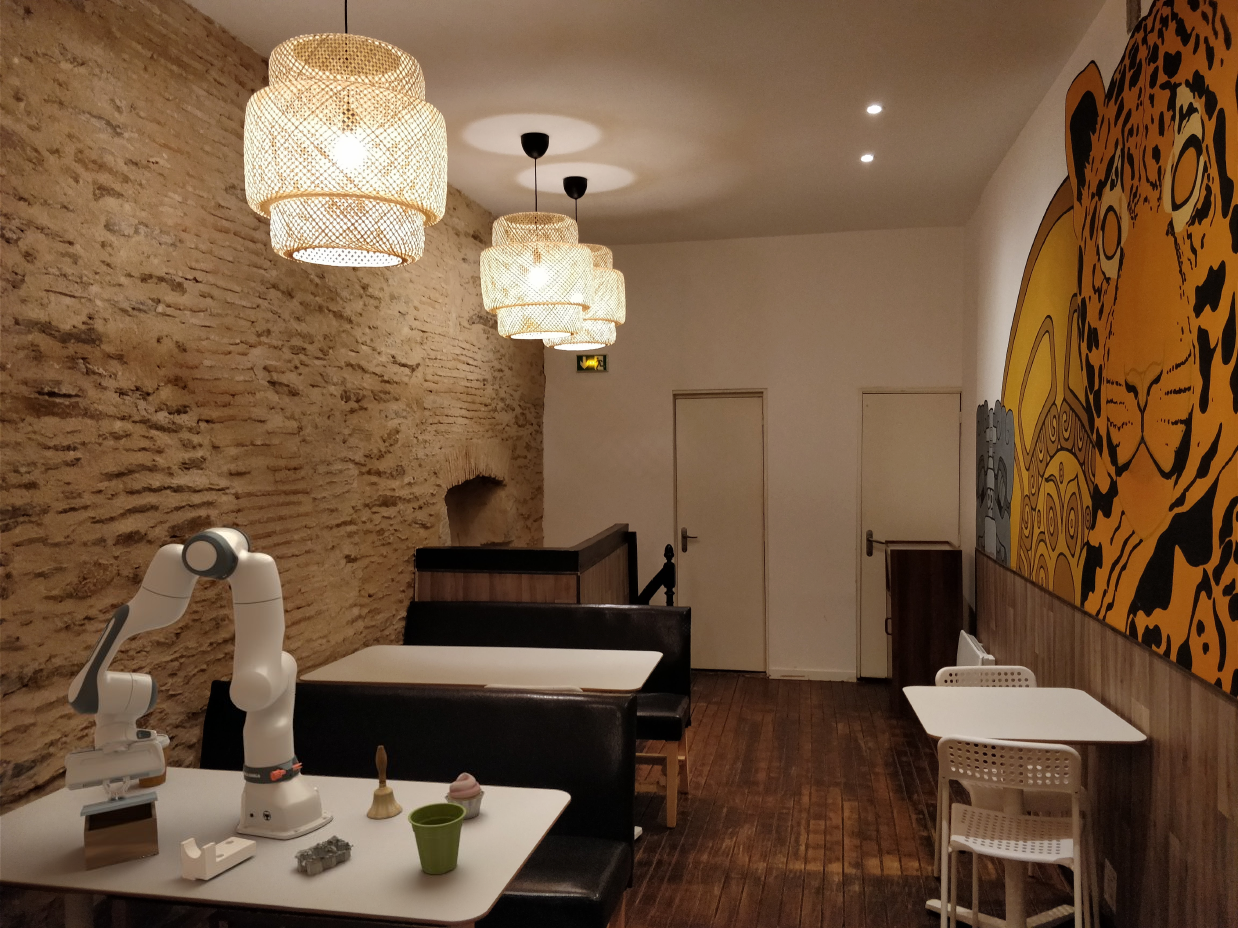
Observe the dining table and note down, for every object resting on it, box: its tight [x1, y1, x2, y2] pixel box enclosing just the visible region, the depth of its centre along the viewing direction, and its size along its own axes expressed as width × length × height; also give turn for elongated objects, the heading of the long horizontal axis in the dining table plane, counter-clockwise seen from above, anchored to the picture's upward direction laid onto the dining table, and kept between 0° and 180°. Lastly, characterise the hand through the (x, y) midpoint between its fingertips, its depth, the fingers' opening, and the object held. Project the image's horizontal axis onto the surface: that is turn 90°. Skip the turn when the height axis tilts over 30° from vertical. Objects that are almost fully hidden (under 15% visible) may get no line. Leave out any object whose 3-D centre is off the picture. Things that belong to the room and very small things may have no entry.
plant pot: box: [407, 802, 466, 875], centre depth 190 cm, size 12×12×11 cm
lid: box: [79, 790, 159, 817], centre depth 207 cm, size 17×15×1 cm
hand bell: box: [366, 745, 403, 820], centre depth 221 cm, size 8×8×16 cm
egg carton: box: [293, 834, 354, 876], centre depth 195 cm, size 11×8×4 cm
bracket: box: [180, 836, 257, 881], centre depth 196 cm, size 13×7×8 cm, turn 155°
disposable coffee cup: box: [138, 733, 171, 788], centre depth 249 cm, size 10×10×12 cm
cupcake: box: [444, 772, 486, 820], centre depth 217 cm, size 9×9×10 cm
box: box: [83, 801, 160, 871], centre depth 207 cm, size 16×14×8 cm
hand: (116, 798), depth 209 cm, fingers closed
